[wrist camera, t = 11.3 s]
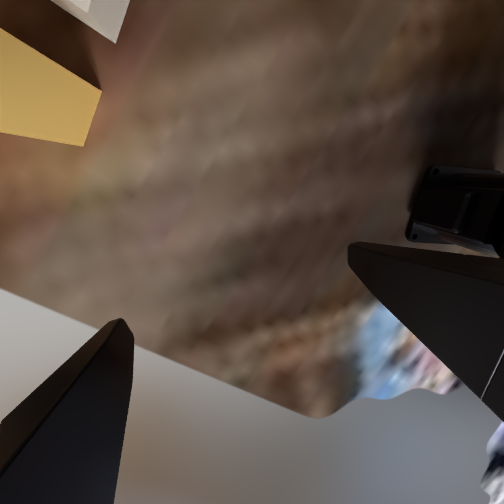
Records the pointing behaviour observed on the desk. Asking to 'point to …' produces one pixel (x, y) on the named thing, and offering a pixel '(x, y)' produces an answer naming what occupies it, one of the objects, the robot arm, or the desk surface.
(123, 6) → the white square frame
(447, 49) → the desk surface
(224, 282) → the desk surface
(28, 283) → the desk surface
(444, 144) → the desk surface
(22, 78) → the yellow block with peg
